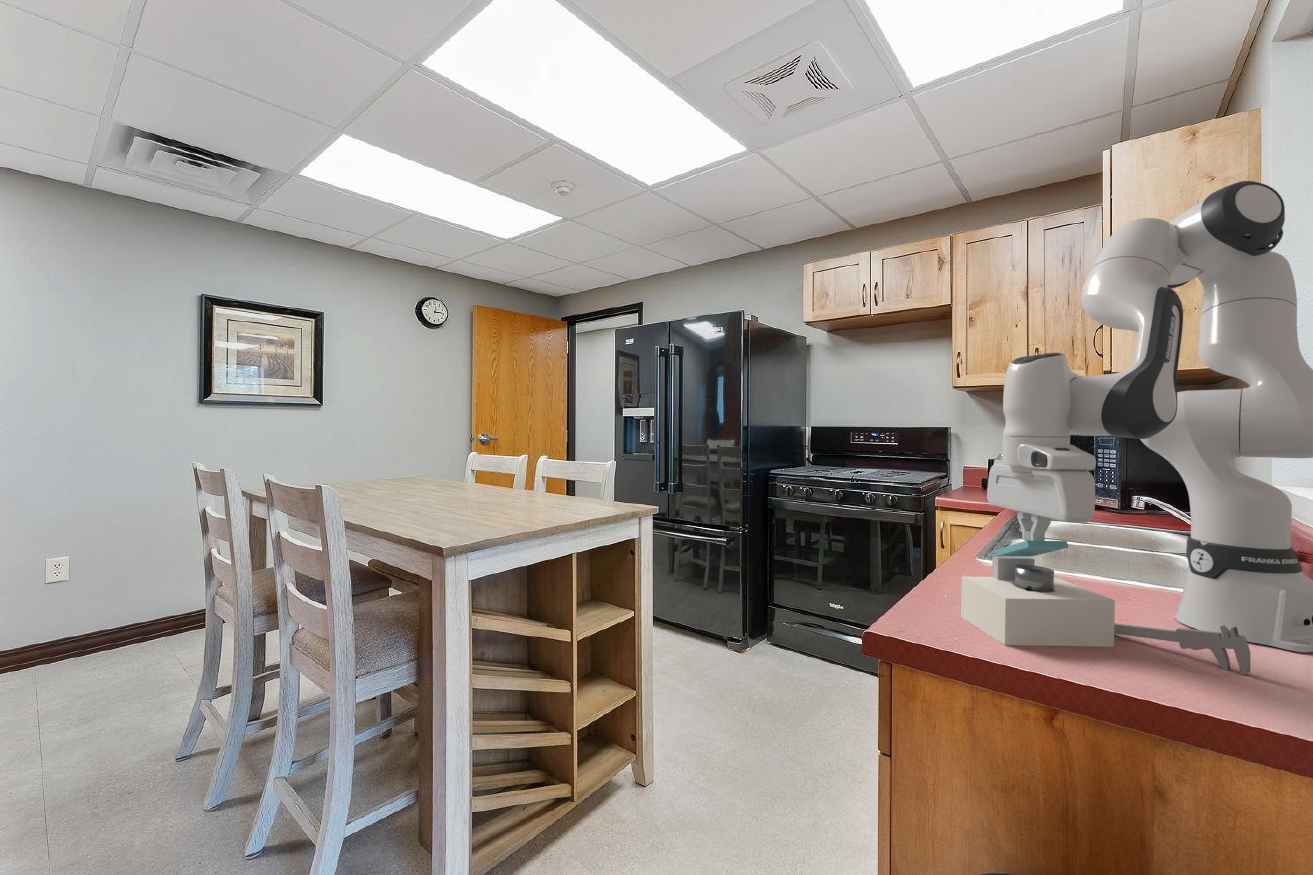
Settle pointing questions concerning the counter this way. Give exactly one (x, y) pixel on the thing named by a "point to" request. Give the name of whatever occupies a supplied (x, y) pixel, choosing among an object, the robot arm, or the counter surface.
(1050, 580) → the pin
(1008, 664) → the counter surface
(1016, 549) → the block
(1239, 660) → the caliper
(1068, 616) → the block
